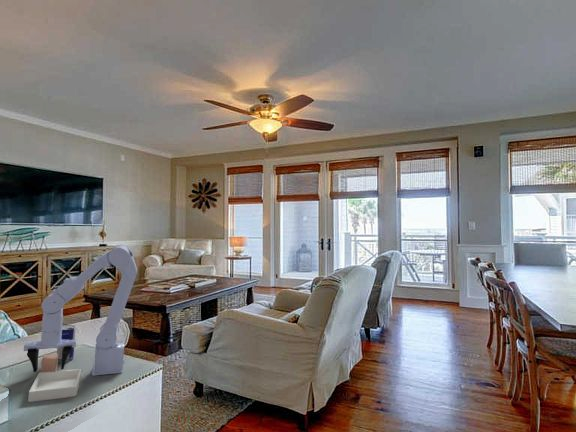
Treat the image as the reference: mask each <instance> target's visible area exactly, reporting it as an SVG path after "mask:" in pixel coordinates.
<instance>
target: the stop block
mask: <svg viewBox="0 0 576 432" xmlns="http://www.w3.org/2000/svg"><path fill="white" fill-rule="evenodd" d="M40 363H41V365H40V373H43V372H54V371H58V363H59V362H58V354H57V353H54V354H53V353H51V354H44V355H43V356H42V358H41V362H40Z"/></svg>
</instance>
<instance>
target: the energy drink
mask: <svg viewBox="0 0 576 432" xmlns="http://www.w3.org/2000/svg"><path fill="white" fill-rule="evenodd" d="M76 330H77V328H76V325H73V324H64V325H62V338H61V339H64V340H76ZM63 348H64V347H62V348H56V354H58V363H62V350H63ZM74 355H75V347H72V349H71V351H70V353H69V355H68V357H67V359H66V362H65V363H68V362H70V361H72V360H73V359H74V358H75V356H74Z"/></svg>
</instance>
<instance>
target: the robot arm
mask: <svg viewBox="0 0 576 432" xmlns="http://www.w3.org/2000/svg"><path fill="white" fill-rule="evenodd" d="M112 265H113V266H114V267H115V268H116V269H118V271H119V272H120V274H121V278H120V281H119V284H118V285H117V289H116V292H115V295H114V298H113V300H112V303H111V305H110V307H109V312H108V313H107V317H106V320H105V322H104V323H103V324H102V325H101V327H100V328H99V332H98V334H97V336H96V338H95V353H94V364H93V366H92V372H91V376H102V375H103V376H104V375H112V374H113V375H114V374H121V373H123V371H124V365H125V359H124V355H125V343H121V342H119V340H118V335H119V332H120V327H119V325H120V322H121V320H122V316H123V313H124V311H125V308H126V305H127V302H128V299H129V297H130V294H131V292H132V288H133V286H134V283H135V280H136V278H137V274H138V267H137V264H136V261H135V257H134V253H133V251H131V249H130V247H128V246H127V245H125V244H117V245H114V247H113V248H112V249H110V250H108V251H106V252H105V253H103V254H102V255H100V256H99V257H98V258H96V259H95V260H94V261H93V262H92V263H91V264H90V265H89V266H88V267H86V269H84V270H83V271H82V272H81V273H80V274H78V275H77V276H70V277H69V278H68V277H67V278H65V279H64V280H63V283H62V284H60V285H59V286H58V287H57V288H54V289H52V290H51V293H50V294H48V295H47V296H46V297H45V298H44V299H43V301H42V302H41V309H42V311H43V312H42V313H43V314H42V321H41V335H40V336H41V339H40V340H39V341H34V342H33V341H32V342H25V344H24V345H23V351H24V352H27V353H26V355H27V356H26V357H27V358H28V359H29V361H30V363H31V366H32V370H33V371H32V372H33V373H36V372H37V371H38V368H39V352H40V350H46V349H57V348H62V347H64V348H63V350H62V362H61V365H60V371H63V370H65V365H66V363H67V362H66V359H67V357H68V355H69V353H70V351H71V349H72V347H74V348H76V346H77V339H75V340H64V339H61V338H62V326H63V323H64V321H63V320H64V314H63V313H64V311H63V310H64V306H65V305H66V303H68V302H70V301H72V299H73V298H75V297H76V296H77V295H78V294H80V292H81V291H82V290H84V289H85V283H86V282H87V281H88V280H89V279H90V278H92V277H94V276H95V275H97V273H98V272H99V271H101V270H102V269H104V268H111V266H112Z"/></svg>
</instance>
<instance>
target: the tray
mask: <svg viewBox="0 0 576 432" xmlns="http://www.w3.org/2000/svg"><path fill="white" fill-rule="evenodd" d="M82 372H83V369H82V368H75V369H66V370H65V369H63V370H57V371H54V372H43V373H41V372H38V373H37V374H36V375H37V376H36V377H35V379H34V382H33V383H32V386H31V387H30V388H29V391H28V401H27V402H28V403H33V402H41V401H47V400H57V399H65V398H72V397H77V394H78V392H79V391H78V390H79V387H80V384H81V381H82Z"/></svg>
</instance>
